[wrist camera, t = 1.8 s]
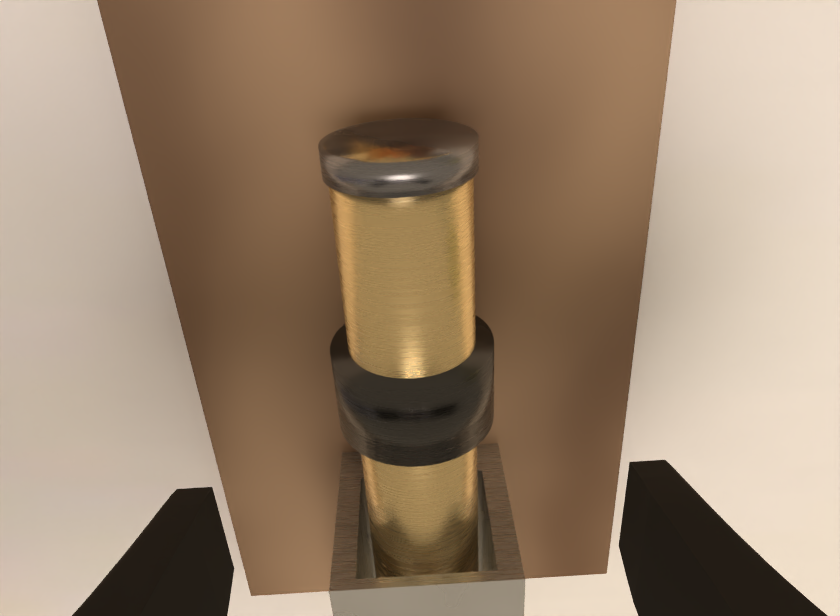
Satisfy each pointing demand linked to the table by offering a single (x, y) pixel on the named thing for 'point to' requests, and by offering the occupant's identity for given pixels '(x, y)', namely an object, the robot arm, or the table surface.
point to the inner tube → (411, 336)
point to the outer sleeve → (435, 593)
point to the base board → (316, 250)
